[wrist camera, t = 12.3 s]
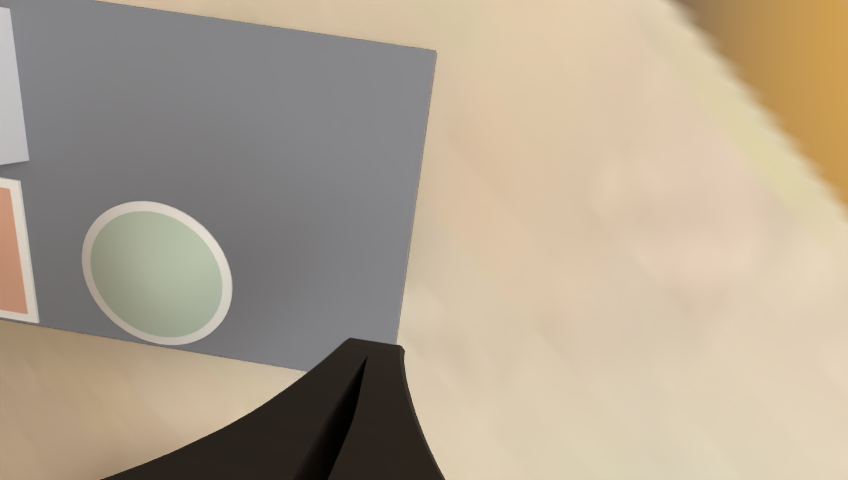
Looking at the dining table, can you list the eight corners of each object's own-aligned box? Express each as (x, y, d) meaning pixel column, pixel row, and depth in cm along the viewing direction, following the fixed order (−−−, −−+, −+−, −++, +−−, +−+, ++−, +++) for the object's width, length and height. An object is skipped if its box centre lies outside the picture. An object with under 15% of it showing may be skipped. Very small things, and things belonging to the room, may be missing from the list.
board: (392, 369, 22) (382, 411, 19) (-113, 285, 22) (-197, 312, 19) (436, 53, 17) (432, 45, 14) (-192, -39, 18) (-315, -65, 15)
